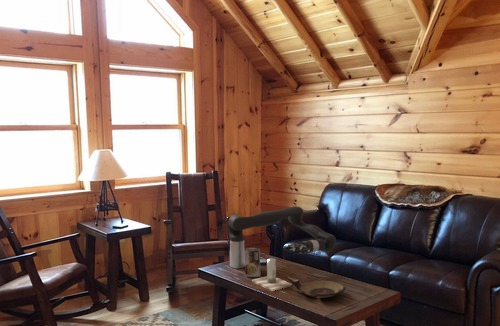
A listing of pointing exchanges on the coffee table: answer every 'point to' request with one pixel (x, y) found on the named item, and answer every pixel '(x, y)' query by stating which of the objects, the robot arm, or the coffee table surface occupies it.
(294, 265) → the coffee table surface
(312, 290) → the oil lamp
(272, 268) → the metal tin
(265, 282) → the ash board
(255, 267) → the coffee box
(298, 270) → the coffee table surface
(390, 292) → the coffee table surface
